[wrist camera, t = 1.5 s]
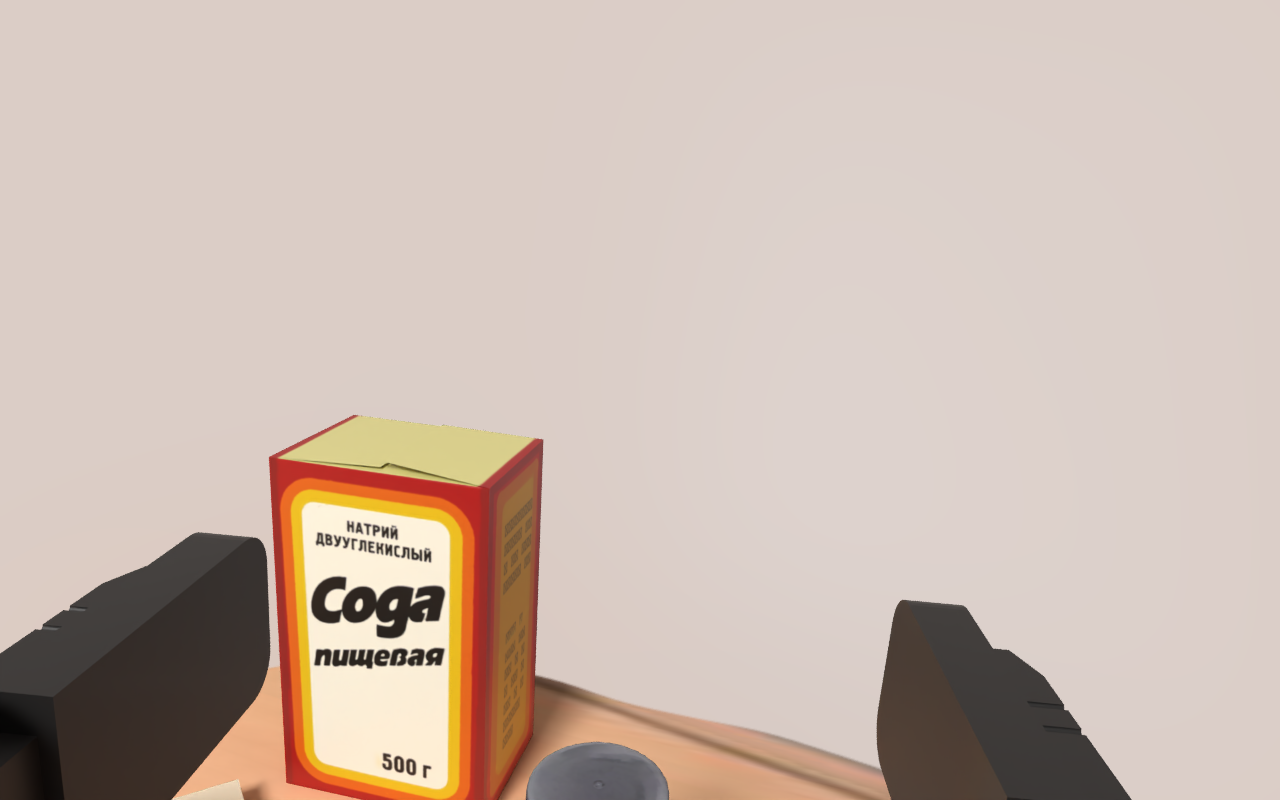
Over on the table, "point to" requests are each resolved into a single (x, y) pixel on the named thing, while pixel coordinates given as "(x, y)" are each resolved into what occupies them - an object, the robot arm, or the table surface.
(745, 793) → the table surface
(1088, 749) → the robot arm
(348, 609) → the baking soda box
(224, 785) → the birch board
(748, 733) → the table surface
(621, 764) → the supplement bottle
